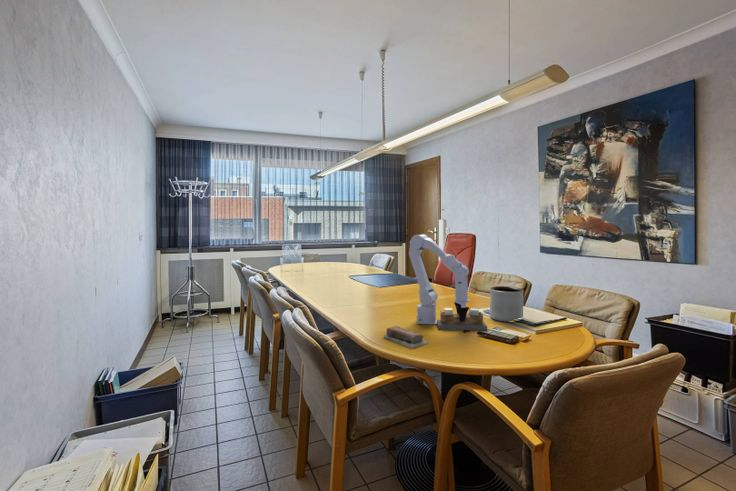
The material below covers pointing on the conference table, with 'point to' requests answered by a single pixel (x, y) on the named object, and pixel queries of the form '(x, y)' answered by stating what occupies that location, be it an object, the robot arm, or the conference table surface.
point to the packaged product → (405, 337)
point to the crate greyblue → (474, 311)
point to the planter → (506, 303)
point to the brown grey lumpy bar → (455, 319)
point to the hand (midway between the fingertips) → (461, 319)
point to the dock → (460, 326)
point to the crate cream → (448, 311)
